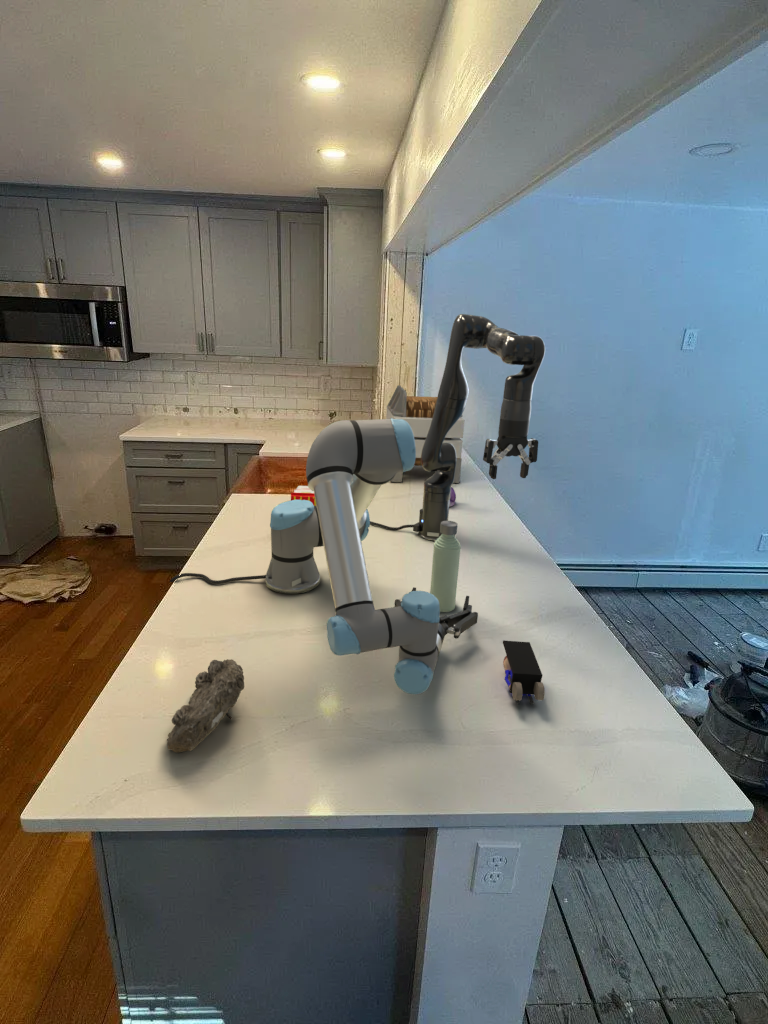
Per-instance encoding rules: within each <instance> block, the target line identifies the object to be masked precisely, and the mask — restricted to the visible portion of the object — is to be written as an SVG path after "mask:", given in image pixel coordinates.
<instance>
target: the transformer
mask: <svg viewBox="0 0 768 1024" xmlns="http://www.w3.org/2000/svg"><path fill="white" fill-rule="evenodd" d="M407 394H408V393H407V390H406V389H404V388H403V387H402V385H399V384H398V385H397V386H396V388H395V390H394V392H393V394H392V395H391V398H390V400H389V402H388V404H387V405H386V413H385V414H386V415H385V419H390V418H393V419H402V420H405V421H406V422H408V423H409V425H410V427H411V429H412V431H413V435H414V439H415V447H416V458H415V464H414V466H413V467H415V466H416V467H417V466H418V467H422V465H421V452H422V448H423V445H424V442H425V440H426V437H427V434H428V431H429V428H430V425H431V421H432V418H433V414H434V410H435V406H436V401H437V397H438V396H415V395H414V396H413V395H412V396H411V395H407ZM464 429H465V419H464V418H463V414H462V415H461V416H460V418H459V419H458V420H457V422H456V423H455V424H454V425H453V426H452V428H451V429H450V430H449V431H448V433H447V434H446V436H445V438H444V441H443V443H450V444H452V445H453V446H454V448H455V450H456V468H455V474H454V481H453V484H455V483H456V484H459V483H461V472H462V461H463V460H462V453H463V442H464V441H463V440H462V439H463V438H464V431H465V430H464ZM403 475H404V472H403V471H399V472H397V473H396V474H395V476H394V477H393V479H392V480H391V481H390V482H391V483H402V482H403Z"/></svg>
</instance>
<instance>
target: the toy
mask: <svg viewBox="0 0 768 1024" xmlns="http://www.w3.org/2000/svg"><path fill="white" fill-rule="evenodd" d="M290 500H308V501H311V502H312V503H313V505H314V506H316V500H315V495H314V491H312V490H310V489H309V488H308V485H298V486H297V487H296V488H295V489H293V492H290Z"/></svg>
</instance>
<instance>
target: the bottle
mask: <svg viewBox="0 0 768 1024" xmlns="http://www.w3.org/2000/svg"><path fill="white" fill-rule="evenodd" d="M461 547H462V546H461V543H460V541H459V539H458V538H457V537H456V534H455V535H445V534H441V536H440V537H439V538H438V539H437V540H436V541H434V543H433V550H432V551H433V552H432V565H431V577H430V589H429V593H431V594H433V595H434V596H435V597H436V598H437V599H438V601H439V608H440V613H449V612H452V611H453V610H455V608H456V600H457V599H456V598H457V591H458V590H457V588H458V581H459V578H458V577H459V567H460V560H461V559H460V557H461Z"/></svg>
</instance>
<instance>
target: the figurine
mask: <svg viewBox="0 0 768 1024" xmlns="http://www.w3.org/2000/svg"><path fill="white" fill-rule="evenodd" d="M456 499H457V494H456V491H455V489H454V487H453V486H451V493H450V505H449V508H450V507H451V508H452V507H453V506H454V505H455V503H456Z"/></svg>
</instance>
